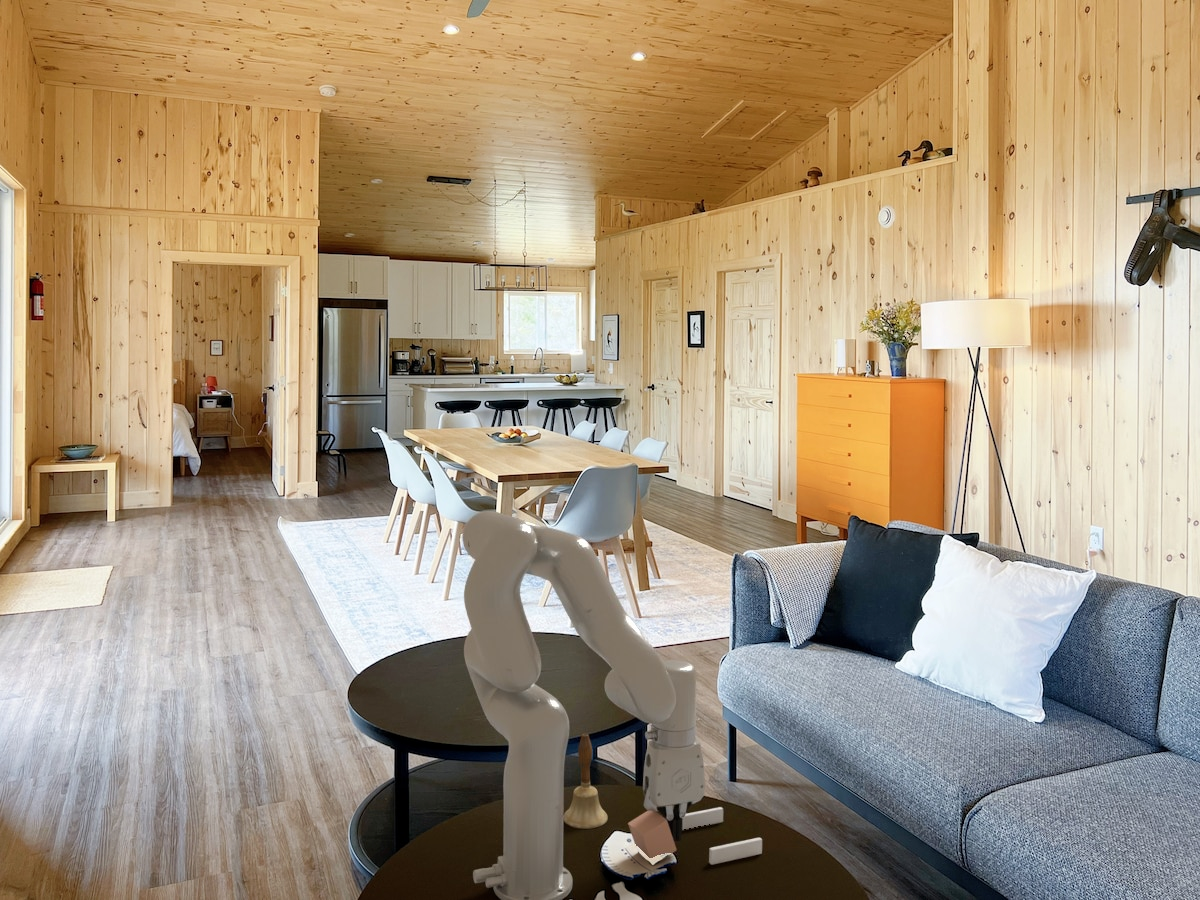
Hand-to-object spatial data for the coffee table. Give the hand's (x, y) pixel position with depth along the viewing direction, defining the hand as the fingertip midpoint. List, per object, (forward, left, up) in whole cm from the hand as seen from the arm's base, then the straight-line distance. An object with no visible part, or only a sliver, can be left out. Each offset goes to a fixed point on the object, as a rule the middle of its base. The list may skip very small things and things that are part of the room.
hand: (672, 838), depth 159 cm
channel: (+9, 0, -2) cm, 9 cm away
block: (-3, -1, -1) cm, 4 cm away
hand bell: (-9, +17, -3) cm, 19 cm away
